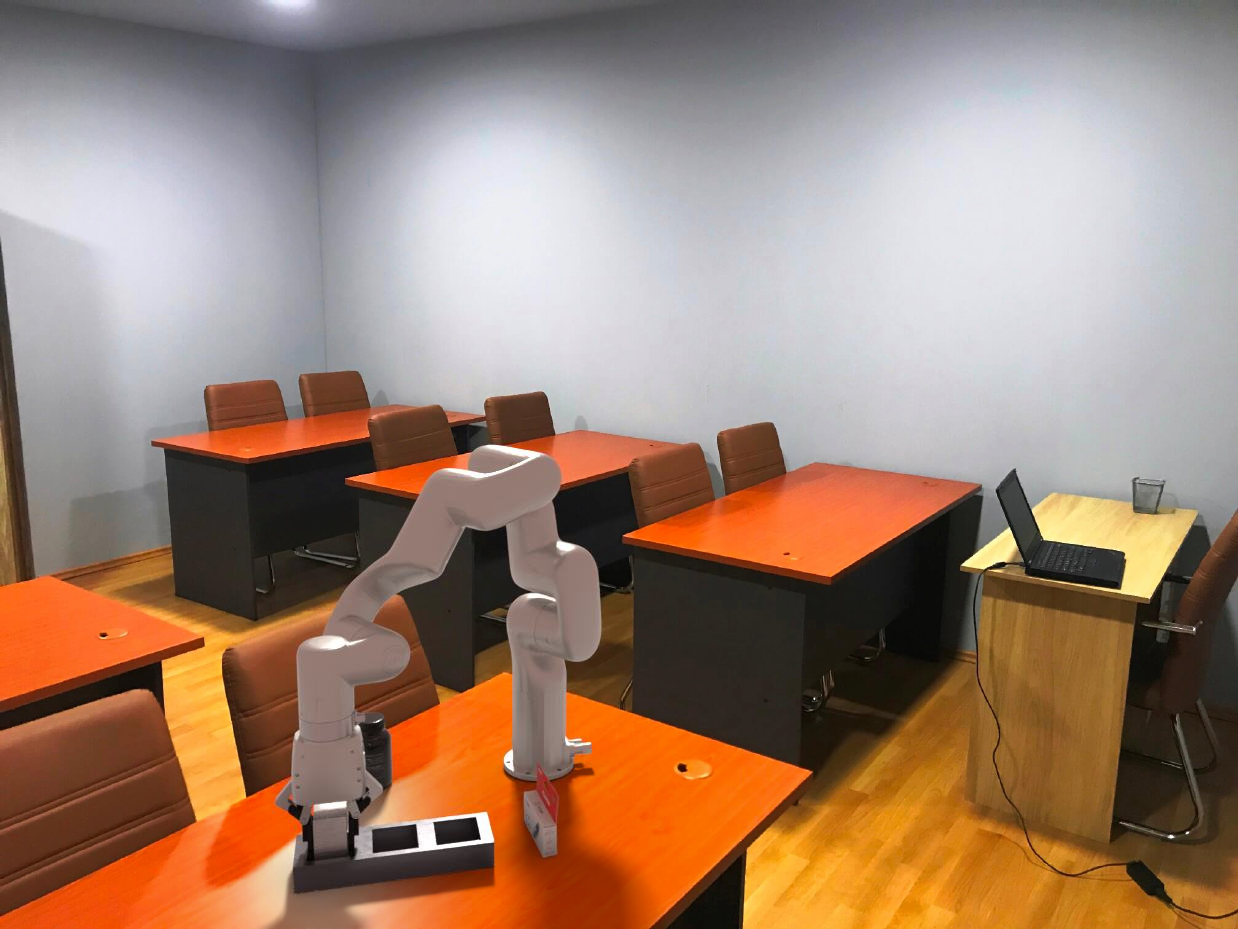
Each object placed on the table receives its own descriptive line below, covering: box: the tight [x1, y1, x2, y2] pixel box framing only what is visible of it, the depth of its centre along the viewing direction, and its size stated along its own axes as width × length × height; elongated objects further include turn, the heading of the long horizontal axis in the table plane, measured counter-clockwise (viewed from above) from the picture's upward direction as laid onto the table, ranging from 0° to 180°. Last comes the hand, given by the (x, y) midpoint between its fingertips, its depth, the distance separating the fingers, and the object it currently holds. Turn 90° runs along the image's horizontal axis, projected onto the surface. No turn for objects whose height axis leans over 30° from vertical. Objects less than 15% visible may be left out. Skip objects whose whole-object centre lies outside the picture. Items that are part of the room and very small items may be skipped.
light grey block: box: [312, 801, 349, 861], centre depth 138 cm, size 4×4×8 cm
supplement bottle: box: [357, 711, 393, 793], centre depth 163 cm, size 7×7×12 cm
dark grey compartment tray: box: [292, 811, 495, 894], centre depth 141 cm, size 28×8×4 cm, turn 105°
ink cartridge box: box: [523, 763, 560, 858], centre depth 148 cm, size 2×11×10 cm, turn 21°
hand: (331, 841), depth 138 cm, fingers open, 5 cm apart
